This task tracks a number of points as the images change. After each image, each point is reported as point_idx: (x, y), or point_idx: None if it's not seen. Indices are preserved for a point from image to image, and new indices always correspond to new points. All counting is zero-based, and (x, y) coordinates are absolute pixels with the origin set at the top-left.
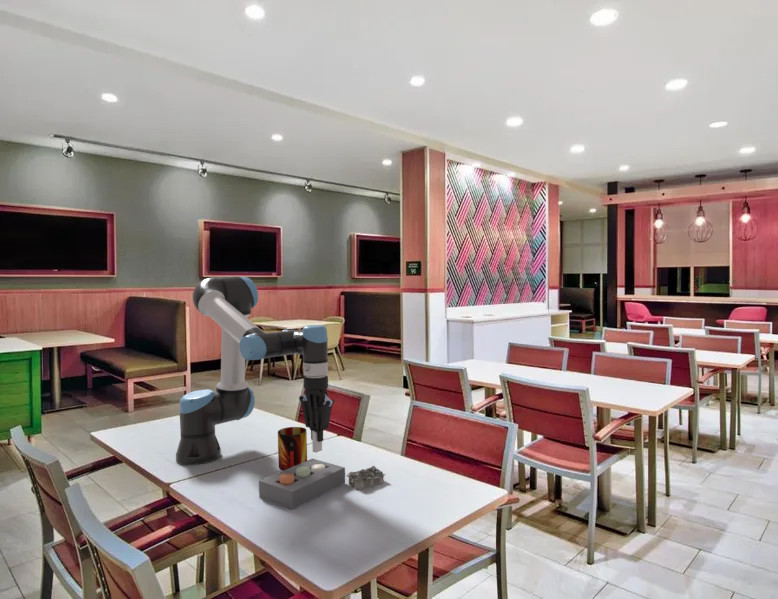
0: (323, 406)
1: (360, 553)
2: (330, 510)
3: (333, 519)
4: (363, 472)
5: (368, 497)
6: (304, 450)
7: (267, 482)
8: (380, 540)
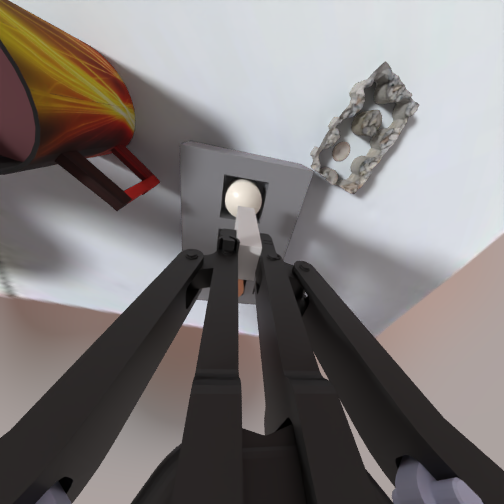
0: (330, 405)
1: (377, 317)
2: (316, 267)
3: (329, 283)
4: (349, 117)
5: (368, 207)
6: (97, 93)
7: (202, 297)
8: (396, 296)
